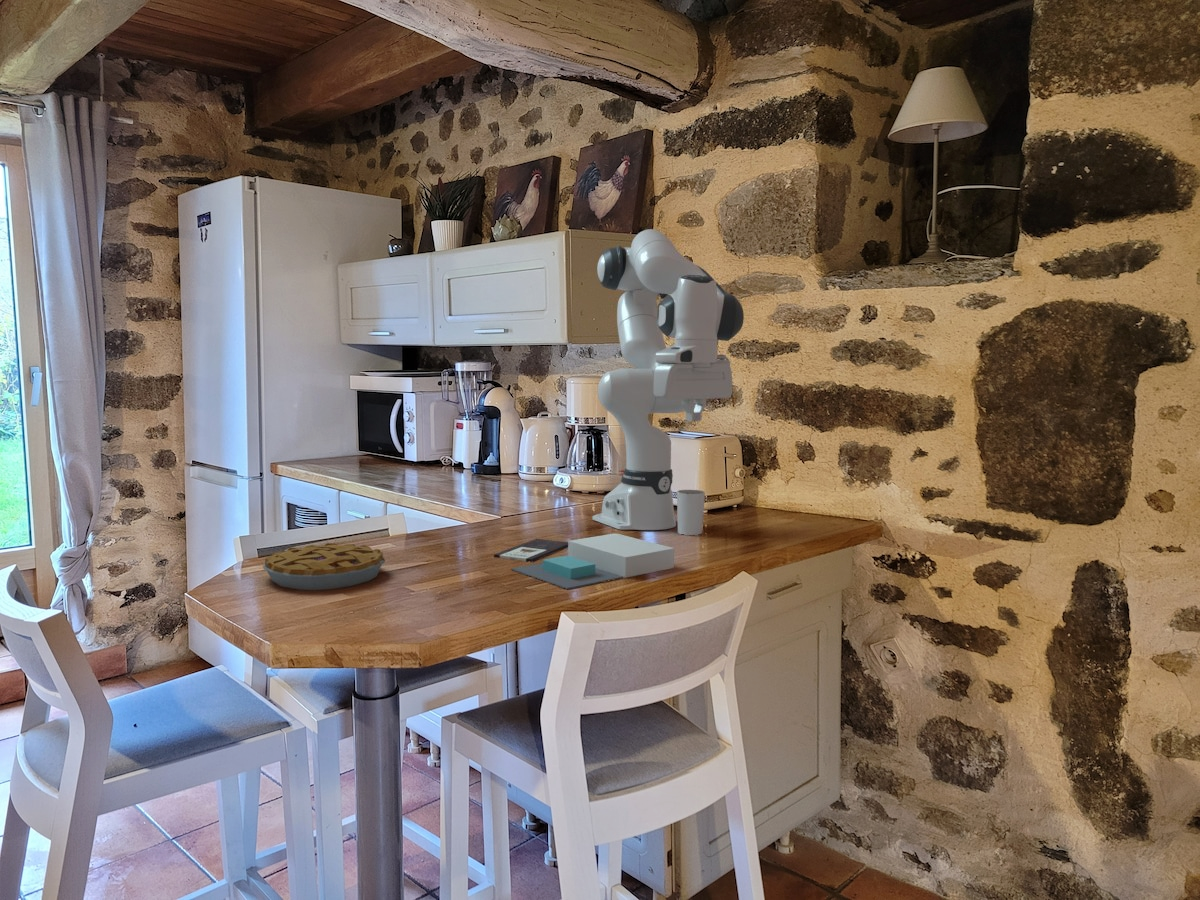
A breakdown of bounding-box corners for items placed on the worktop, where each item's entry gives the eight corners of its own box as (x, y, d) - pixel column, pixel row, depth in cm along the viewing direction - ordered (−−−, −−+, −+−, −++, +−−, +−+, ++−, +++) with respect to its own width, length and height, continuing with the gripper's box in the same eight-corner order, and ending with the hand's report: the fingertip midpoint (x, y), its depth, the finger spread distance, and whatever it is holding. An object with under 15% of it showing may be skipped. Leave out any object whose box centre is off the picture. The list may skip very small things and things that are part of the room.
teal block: (566, 555, 176) (566, 565, 176) (542, 559, 172) (542, 569, 173) (595, 564, 169) (595, 574, 170) (570, 568, 166) (570, 579, 166)
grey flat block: (568, 559, 182) (568, 540, 182) (615, 551, 190) (615, 533, 190) (625, 577, 168) (625, 557, 168) (673, 567, 177) (674, 548, 176)
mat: (511, 569, 173) (511, 568, 173) (566, 560, 182) (566, 558, 182) (566, 589, 160) (566, 588, 159) (623, 578, 168) (623, 576, 168)
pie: (341, 558, 182) (341, 534, 181) (408, 576, 168) (407, 551, 168) (241, 578, 165) (240, 552, 165) (305, 600, 151) (305, 572, 151)
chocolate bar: (571, 542, 196) (531, 559, 180) (571, 546, 196) (531, 563, 180) (536, 538, 200) (494, 554, 184) (536, 542, 200) (494, 559, 184)
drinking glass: (671, 533, 209) (672, 492, 208) (682, 529, 215) (683, 488, 214) (697, 537, 206) (698, 495, 205) (707, 532, 212) (709, 491, 211)
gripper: (718, 354, 191) (716, 417, 193) (649, 353, 178) (647, 421, 180) (740, 354, 186) (738, 419, 188) (671, 354, 173) (669, 424, 175)
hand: (693, 420), depth 184 cm, fingers closed
